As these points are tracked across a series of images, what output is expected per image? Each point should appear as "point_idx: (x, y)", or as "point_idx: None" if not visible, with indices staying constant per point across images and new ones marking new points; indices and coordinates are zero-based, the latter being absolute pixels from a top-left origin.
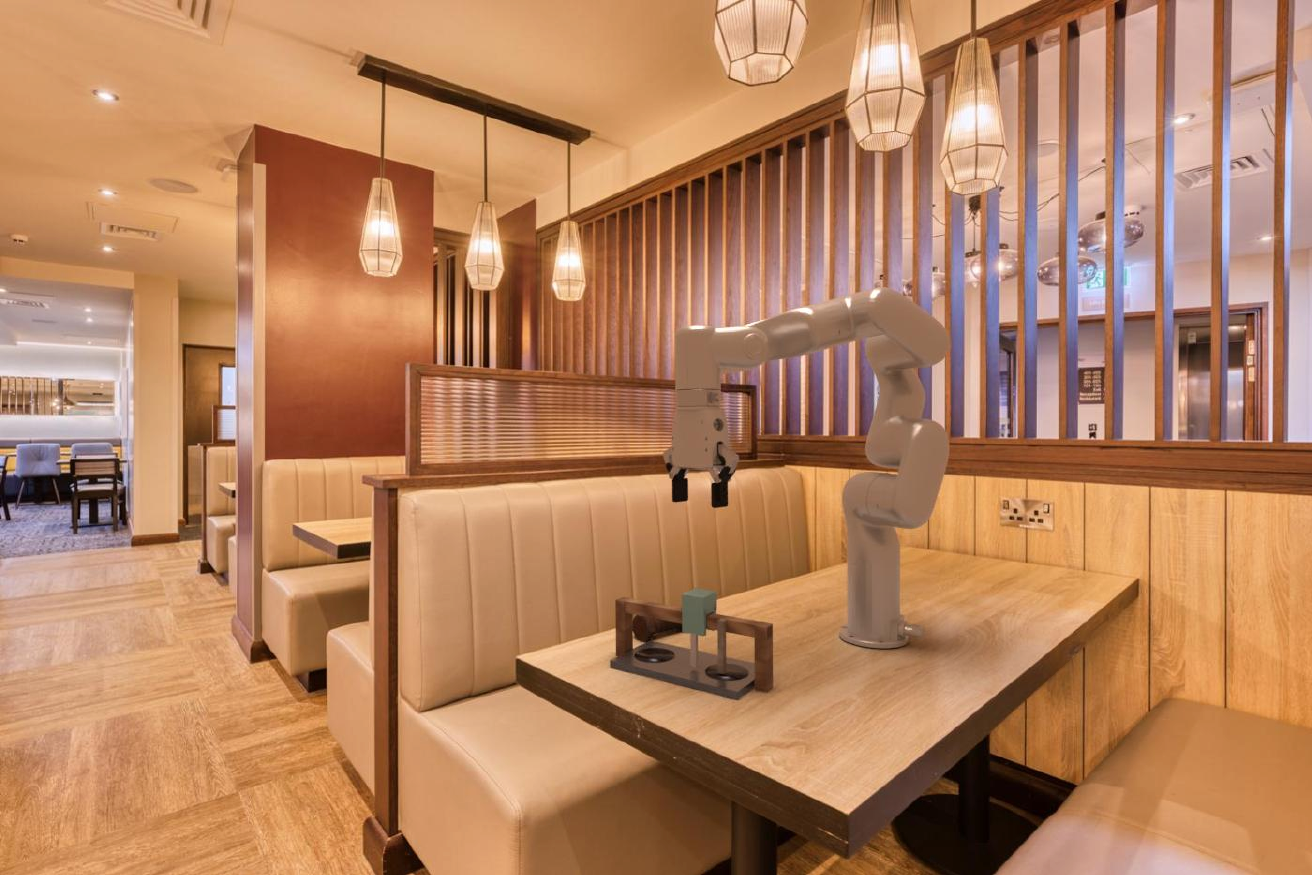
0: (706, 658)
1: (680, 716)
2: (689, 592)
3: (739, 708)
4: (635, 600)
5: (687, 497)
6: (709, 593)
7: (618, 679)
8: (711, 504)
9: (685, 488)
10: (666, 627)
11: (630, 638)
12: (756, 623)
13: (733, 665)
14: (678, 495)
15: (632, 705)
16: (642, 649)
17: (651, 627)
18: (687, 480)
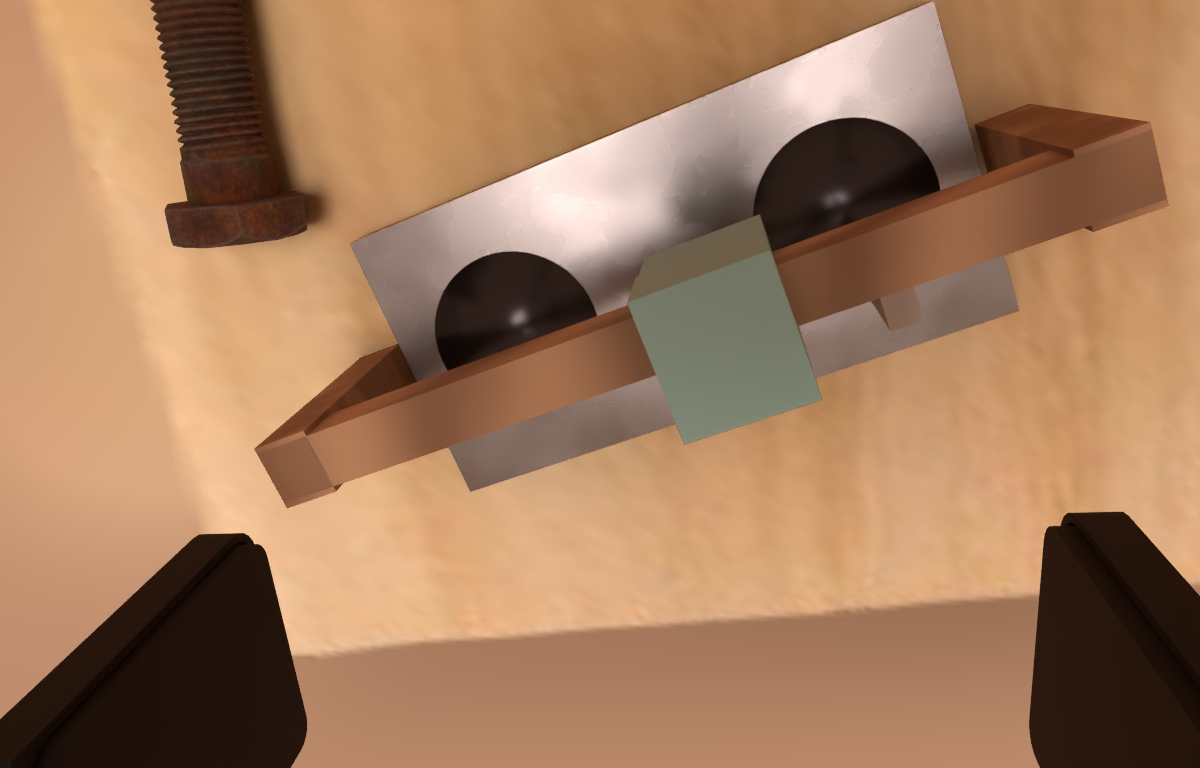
0: (672, 180)
1: (963, 527)
2: (682, 390)
3: (1062, 343)
4: (346, 440)
5: (241, 567)
6: (774, 312)
7: (591, 515)
8: (1039, 764)
9: (173, 689)
10: (254, 97)
11: (382, 379)
12: (1080, 200)
13: (814, 141)
14: (259, 743)
15: (797, 589)
16: (436, 338)
17: (290, 217)
18: (76, 752)
